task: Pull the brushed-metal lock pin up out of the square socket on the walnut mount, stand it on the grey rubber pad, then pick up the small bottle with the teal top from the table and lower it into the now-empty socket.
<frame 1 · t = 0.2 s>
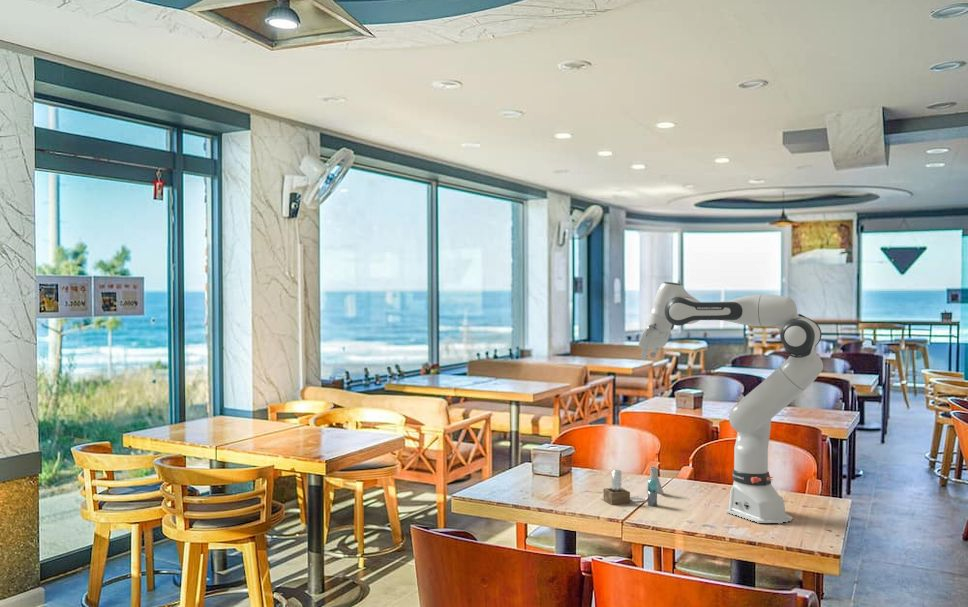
hand: (647, 358, 283), 52 cm above the table, tool tilted 20°, fingers open, 8 cm apart
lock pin: (616, 501, 272), point 1 cm above the table, touching mount
flask: (654, 494, 286), on the table
small bottle: (652, 508, 267), on the table
mount: (625, 503, 273), on the table
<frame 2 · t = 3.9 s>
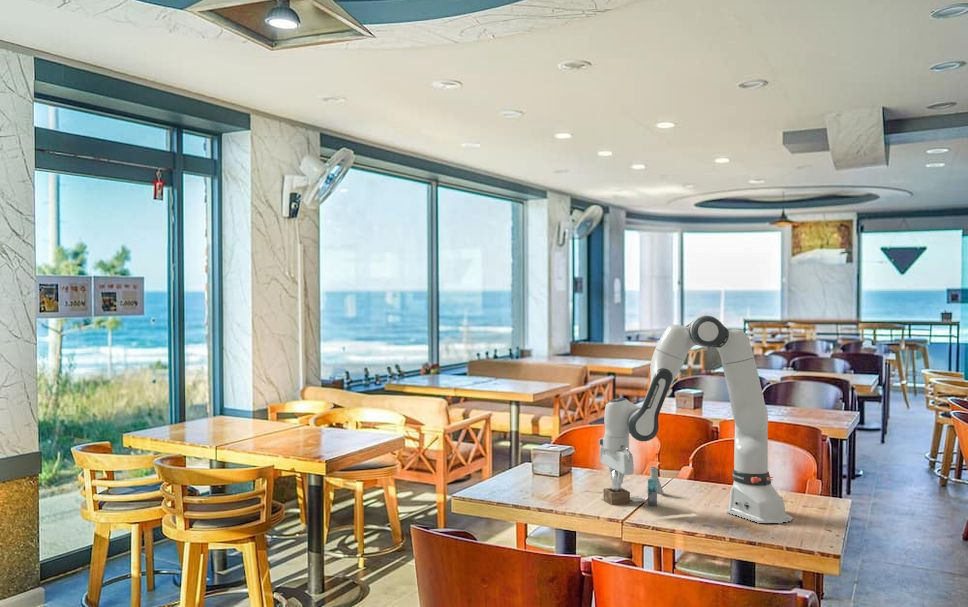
hand: (616, 481, 272), 8 cm above the table, tool pointing down, fingers closed on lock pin, 3 cm apart
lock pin: (616, 501, 272), point 1 cm above the table, touching gripper, mount
everything else where it was.
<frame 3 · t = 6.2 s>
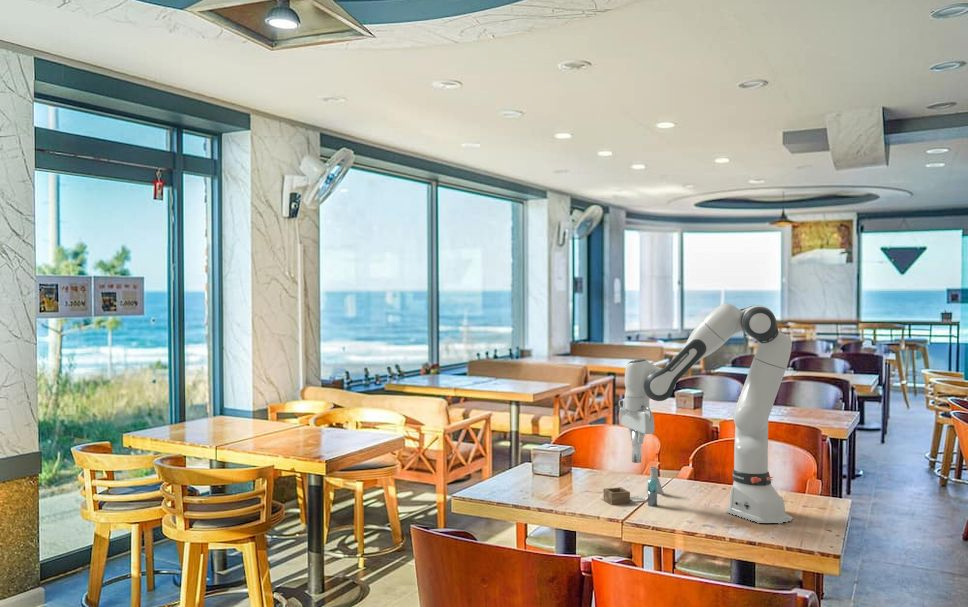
hand: (636, 442, 274), 22 cm above the table, tool pointing down, fingers closed on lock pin, 3 cm apart
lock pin: (636, 461, 274), point 15 cm above the table, touching gripper
everything else where it was.
when the fingers open (9 cm above the table, at t = 8.7 s): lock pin stays where it is, resting on mount.
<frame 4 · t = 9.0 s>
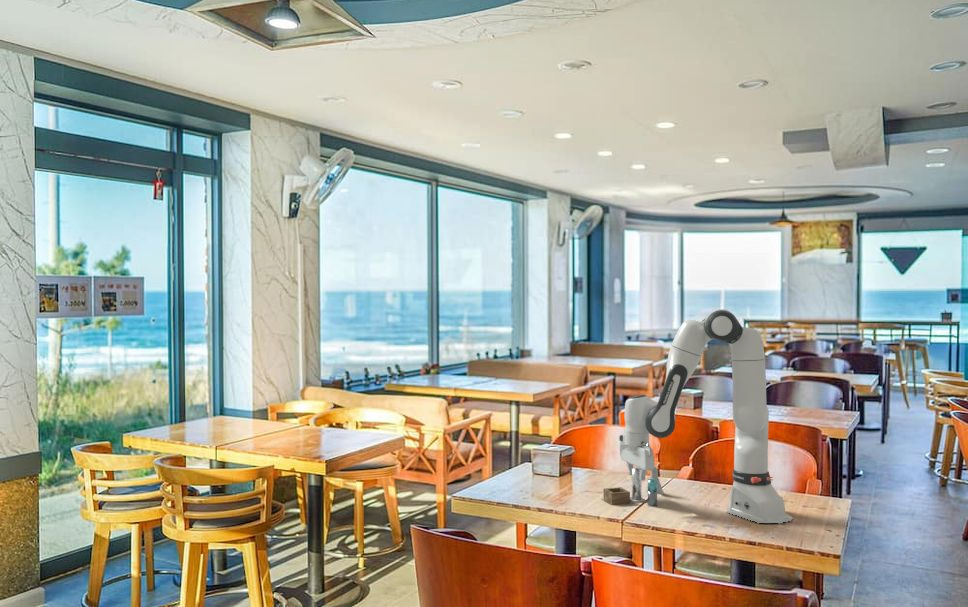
hand: (636, 477, 274), 9 cm above the table, tool pointing down, fingers open, 7 cm apart
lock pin: (636, 498, 274), point 1 cm above the table, touching mount
everything else where it was.
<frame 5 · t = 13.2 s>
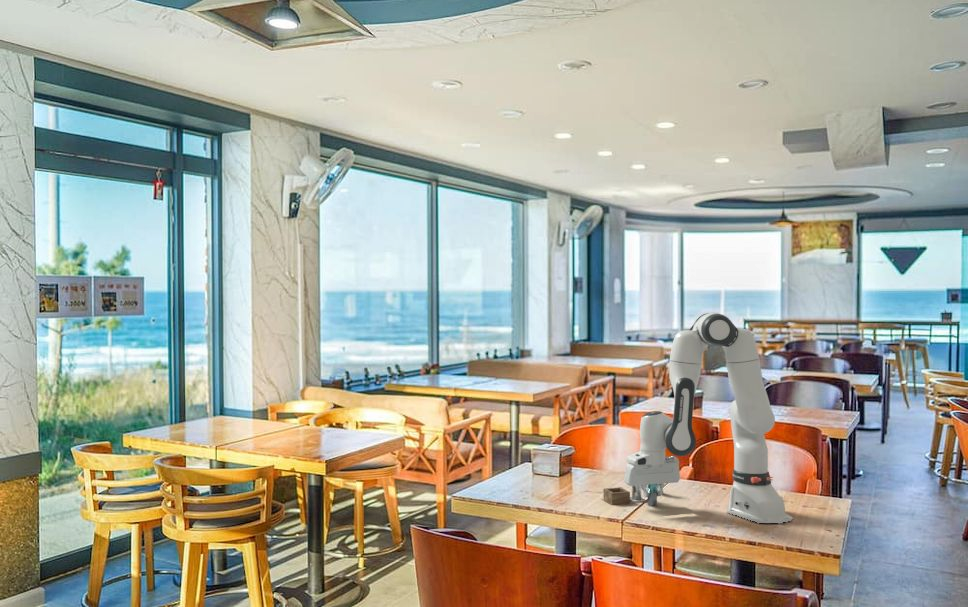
hand: (652, 496, 267), 4 cm above the table, tool pointing down, fingers closed on small bottle, 3 cm apart
small bottle: (652, 508, 267), on the table, touching gripper
everything else where it was.
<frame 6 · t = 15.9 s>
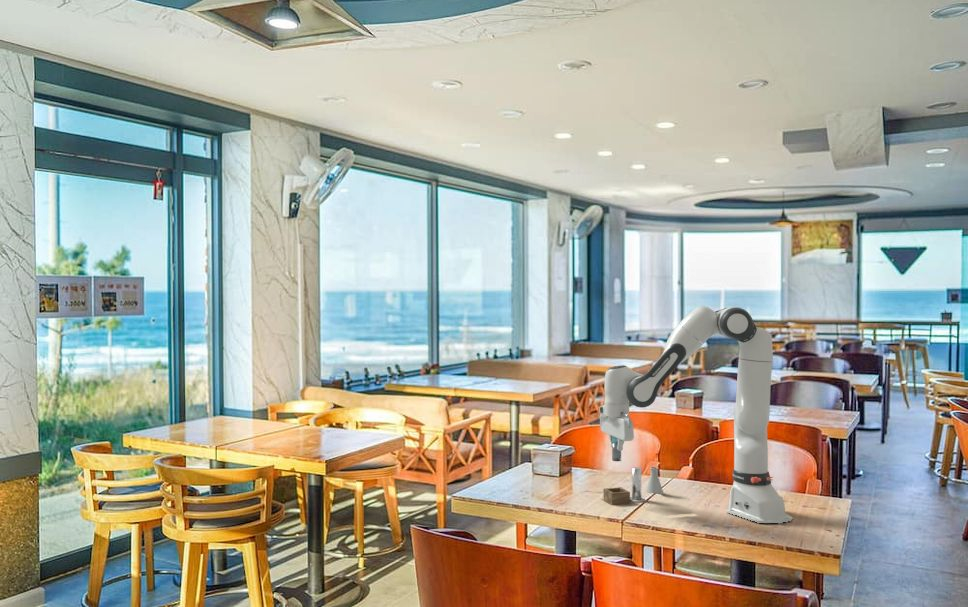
hand: (616, 449, 272), 20 cm above the table, tool pointing down, fingers closed on small bottle, 3 cm apart
small bottle: (616, 460, 272), point 16 cm above the table, touching gripper
everything else where it was.
when the fingers open (7 cm above the table, at t = 19.0 s): small bottle drops 1 cm, resting on mount.
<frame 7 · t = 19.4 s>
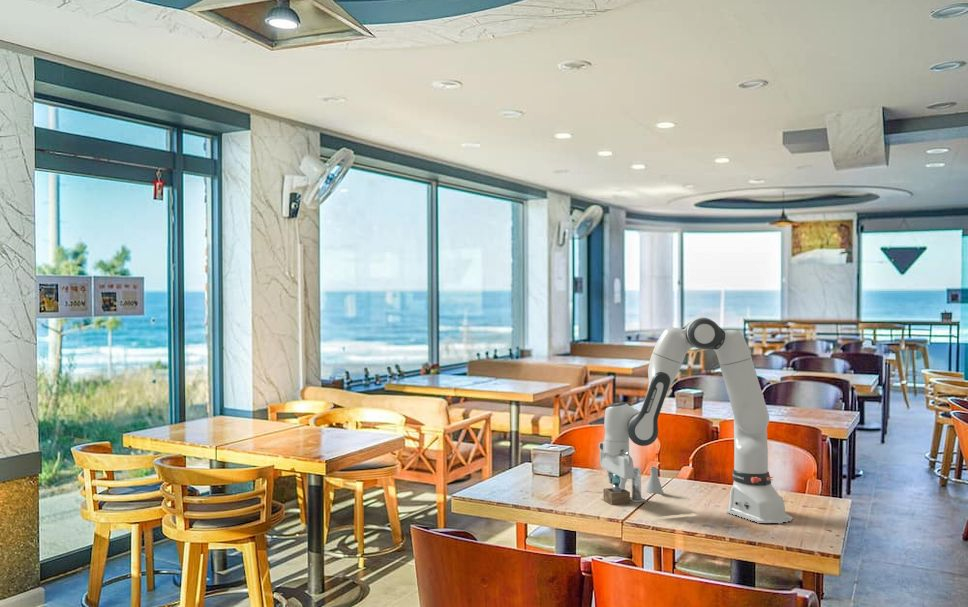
hand: (616, 485, 272), 7 cm above the table, tool pointing down, fingers open, 7 cm apart
small bottle: (616, 501, 272), point 1 cm above the table, touching mount
everything else where it was.
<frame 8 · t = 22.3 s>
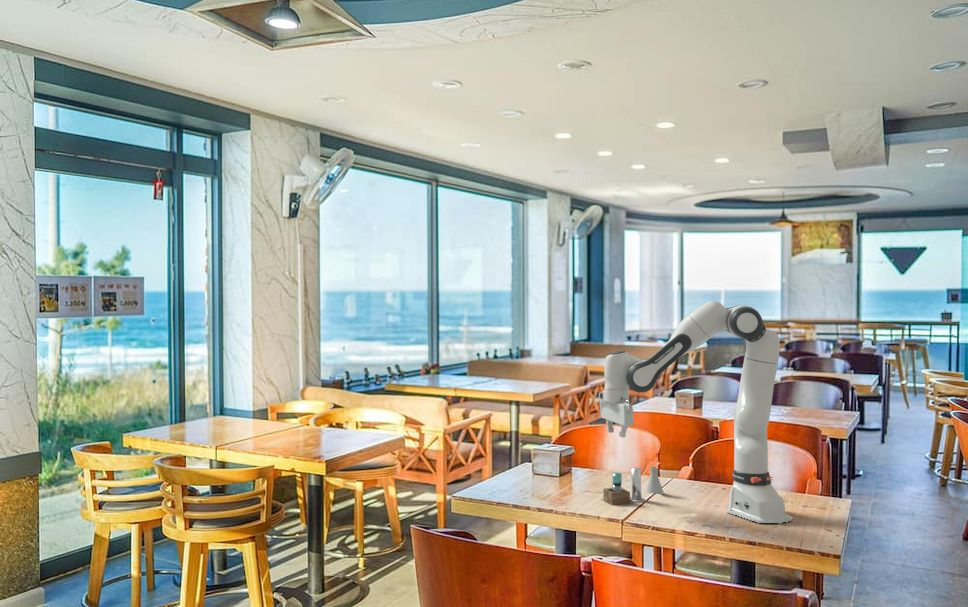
hand: (616, 434, 272), 25 cm above the table, tool pointing down, fingers open, 8 cm apart
nothing on the table moved.
at the end: small bottle 0.1 cm from the target spot on the mount, point 1.0 cm above the mount's base; small bottle tilted 1°; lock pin inside the target area (0.8 cm from its centre), point 1.4 cm above the table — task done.
